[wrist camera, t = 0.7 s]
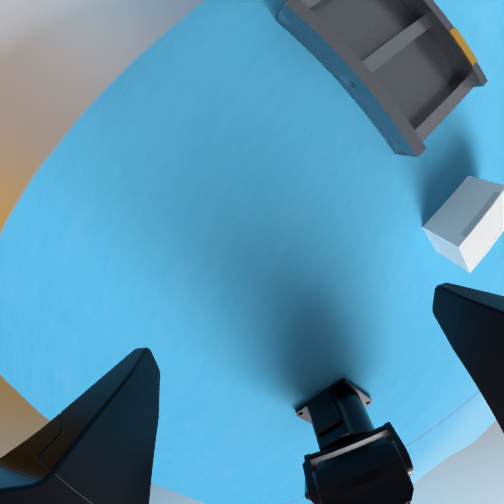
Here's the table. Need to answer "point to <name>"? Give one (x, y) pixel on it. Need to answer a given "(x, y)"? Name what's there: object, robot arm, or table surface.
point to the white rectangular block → (468, 222)
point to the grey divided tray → (389, 61)
